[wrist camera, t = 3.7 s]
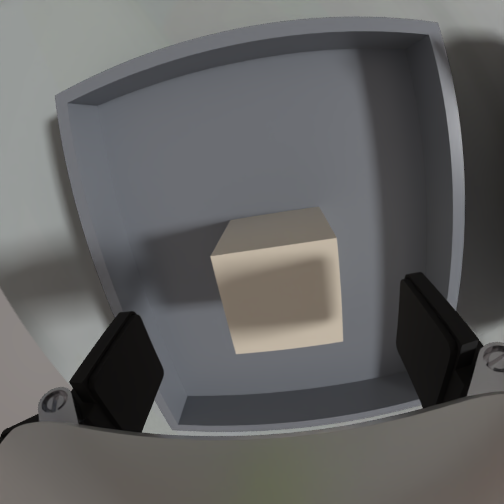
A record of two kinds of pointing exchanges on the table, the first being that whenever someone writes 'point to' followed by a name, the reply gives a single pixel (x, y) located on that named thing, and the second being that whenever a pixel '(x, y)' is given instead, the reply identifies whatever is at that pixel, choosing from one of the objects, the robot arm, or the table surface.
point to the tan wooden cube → (280, 281)
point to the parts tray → (272, 202)
